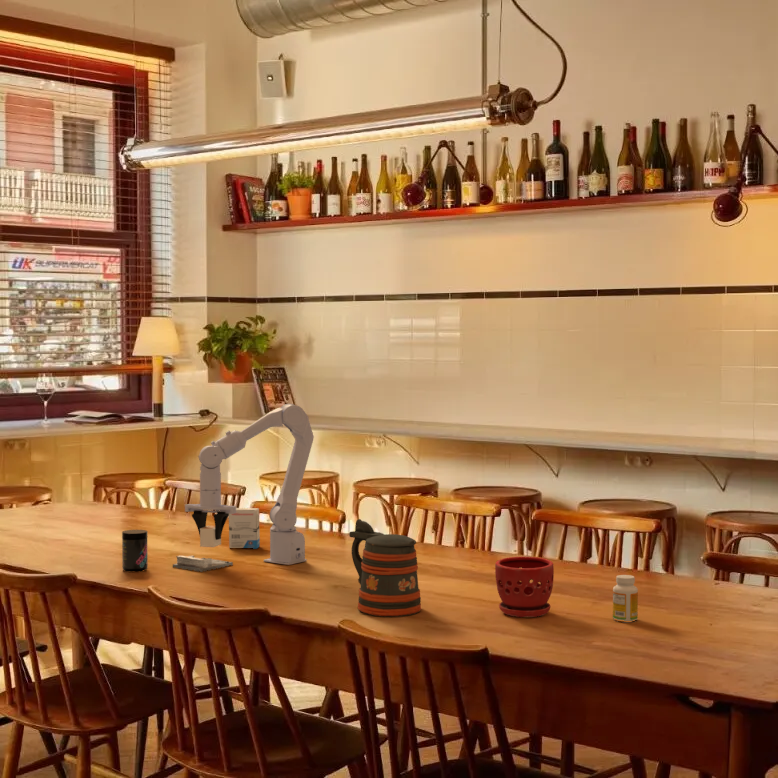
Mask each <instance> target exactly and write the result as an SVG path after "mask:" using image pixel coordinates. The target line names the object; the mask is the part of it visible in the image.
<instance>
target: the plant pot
mask: <svg viewBox="0 0 778 778" xmlns="http://www.w3.org/2000/svg"><path fill="white" fill-rule="evenodd" d="M494 568H495V569H494V570H495V572H494V573H495V584H496V589H497V593H498V595H499V598H500V600H501V602H500V603H499V604H498V607H499V609H500V611H501V613H503V614H505V615H507V616H510V617H514V616H516V618H522V617H531V618H537V616H538V617H539V616H541V617H543V616H544V615H546V614H548V613H549V611H550V609H551V604H550V603H548V601H549V600H550V597H551V595H552V592H553V586H554V576H555V575H554V572H555V571H554V563H553V561H551V560H549V559H547V558H545V557H544V558H543V557H536V556H511V557H510V556H509V557H504V558H500V559H499V560H497V561H496V562H495V566H494ZM530 581H532V582H530Z"/></svg>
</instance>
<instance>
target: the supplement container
mask: <svg viewBox="0 0 778 778" xmlns="http://www.w3.org/2000/svg"><path fill="white" fill-rule="evenodd" d="M121 543H122V545H121V546H122V548H121V549H122V550H121V551H122V557H121V558H122V559H121V561H122V563H121V564H122V570H123V571H124V570H125V571H124V572H126V571H140V572H144V571H143V570H145V571H146V570H147V569H148V567H149V566H148V565H149V564H148V558H149V557H148V556H149V555H148V530H146V529H127V530H123V531H121Z"/></svg>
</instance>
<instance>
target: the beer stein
mask: <svg viewBox="0 0 778 778" xmlns="http://www.w3.org/2000/svg"><path fill="white" fill-rule="evenodd" d="M348 534H349V535H348V536H349V538H354V539H353V542H352V545H351V558H352V562H353V566H354V569H355V570H356V572H357V575H358V579H357V581H358V583H359V585H360V588H359V589H358V602H357V609H358V611H359V612H361V613H363V614H365V615H369V616H373V617H380V618H381V617H384V618H396V617H397V618H398V617H408V616H413V615H416V614H418V613H419V612H420V611H421V610H422V607H421V606H422V604H421V602H422V601H421V600H422V597H421V589H420V587H419V579H418V569H419V567H418V565H419V564H418V556H417V550H416V549H415V545H416V544H417V541H416V540H415V539H414V538H411V537H410V536H408V535H403V534H396V533H395V534H393V533H392V534H391V533H389V534H387V533H386V534H384V533H383V532H378V531H374V529H373V527H372V526H371V524H369V523H368V522H367V521H366V520H362V519H360V518H359V519H356V521H355V528H354V530H353V531H350V532H349V533H348ZM362 541H365V544H364V548H363V550H362V556H361V555H360V552H359V549H360V545H361V542H362Z"/></svg>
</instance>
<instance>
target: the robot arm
mask: <svg viewBox="0 0 778 778" xmlns="http://www.w3.org/2000/svg"><path fill="white" fill-rule="evenodd" d="M284 426H285V427H286V428H287V429H288V431H289V432H290V433H291V436H292V437H293V438H294V443H293V446H292V447H293V448H292V451H291V454H290V458H289V462H288V465H287V468H286V471H285V475H284V480H283V483H282V487H281V489H280V493H279V495H278V497H277V498H276V503H275V504H274V505H273V506H272V508H271V509H270V511H269V519H270V521H271V522H272V526H271V527H270V528H269V533H270V534H269V544H270V545H269V547H270V548H269V549H270V550H269V554H270V556H269V558H266V559H263V562H266V563H273V564H278V565H279V564H280V565H286V566H287V565H288V566H289V565H294V564H299V563H303V562H307V561H308V559H306V539H305V535H304V534H303V532H300V531H298V530H297V527H296V524H297V514H296V513H297V507H298V497H299V492H300V490H301V486H302V482H303V478H304V475H305V471H306V467H307V464H308V460H309V458H310V453H311V449H312V447H313V446H312V445H313V443H314V442H313V441H314V438H315V436H314V432H313V429H312V427H311V426H312V425H311V423H310V418H309V415H308V414H307V413H306V411H305V409H303V407H301V406H300V405H295V404H294V403H285V404H283V405H282V406H280V407H278V408H275V409H273V410H271V411H269V412H267V413H266V414H265V415H263V416H261V417H260V418H259V419H257V420H256V421H254V422H252V423H251V424H249V425H248V426H246V427H245V428H243V429H241V430H236V429H234V430H228V431H226V432H225V434H224V435H223V436H222V437H220V438H219V439H217V440H216V441H215V440H211V442H210V444H211V445H205V446H204V447H202V449H201V450H200V451H199V455H198V456H197V457H198V461H199V462H200V466H199V470H200V473H199V503H188V504H186V503H185V504H184V512H185V513H189V512H190V513H191V512H192V513H191V517H192V519H193V521H194V522H195V523H194V524H196V528H197V530H198V531H197V532H198V534H199V536H200V528H203V527H206V526H207V518H208V513H213V516H212V517H213V521H214V526H215V538H216V540H218V539H221V540H222V534H223V529H224V528H225V524H226V521H228V519H229V513H230V514H235V513H236V508H237V506H236V505H229V504H228V505H227V504H222V474H221V473H222V472H221V463H222V462H223V460H227V459H228V458H230V457H232V456H233V455H235V454H237V453H239V452H240V451H241V450H243V449H245V447H246V444H247V442H248V441H249V440H251V439H253V438H254V437H256V436H258V435H259V434H261V433H263V432H265V431H266V430H269V429H270V428H272V427H273V428H274V427H275V428H276V427H277V428H280V427H282V428H283V427H284Z"/></svg>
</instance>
